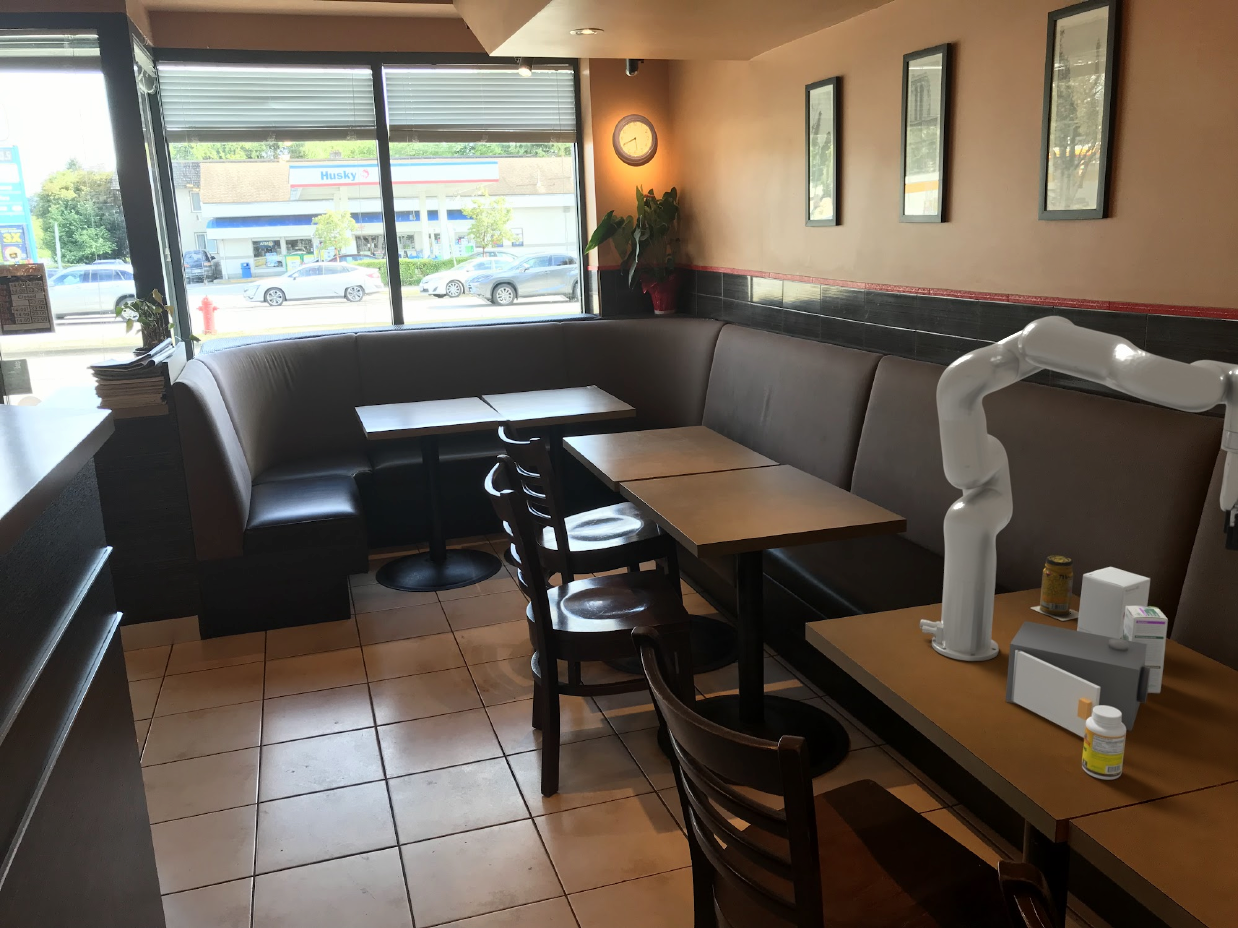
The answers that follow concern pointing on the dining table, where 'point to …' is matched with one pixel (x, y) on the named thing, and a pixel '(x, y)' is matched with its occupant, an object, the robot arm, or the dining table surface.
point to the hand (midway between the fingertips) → (1235, 541)
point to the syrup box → (1148, 638)
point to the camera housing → (1089, 663)
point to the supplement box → (1109, 600)
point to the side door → (1053, 692)
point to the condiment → (1057, 589)
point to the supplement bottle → (1104, 743)
